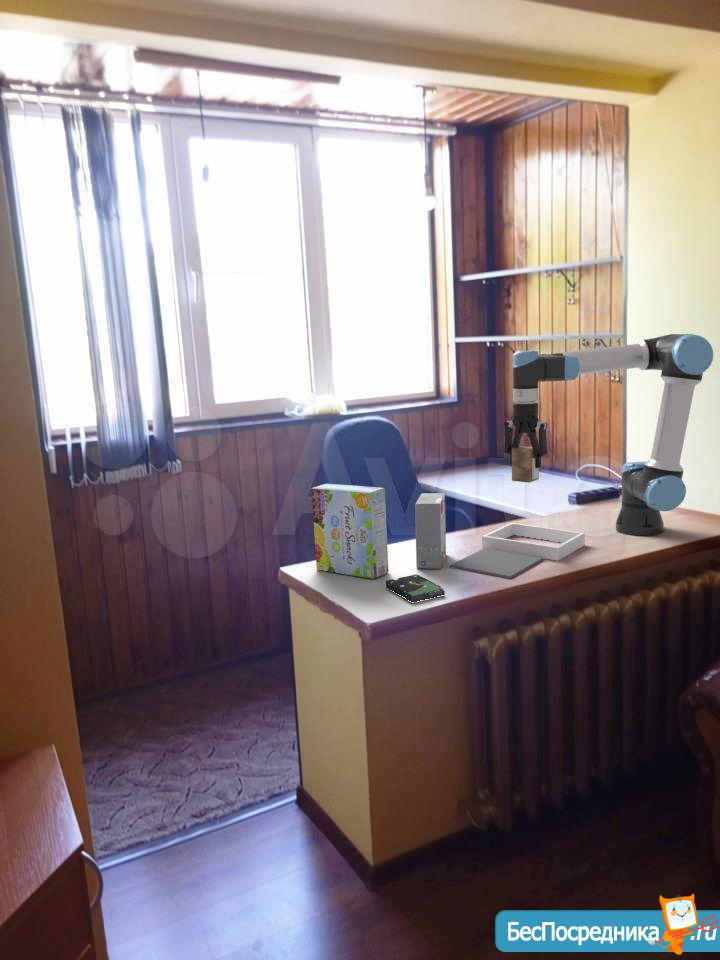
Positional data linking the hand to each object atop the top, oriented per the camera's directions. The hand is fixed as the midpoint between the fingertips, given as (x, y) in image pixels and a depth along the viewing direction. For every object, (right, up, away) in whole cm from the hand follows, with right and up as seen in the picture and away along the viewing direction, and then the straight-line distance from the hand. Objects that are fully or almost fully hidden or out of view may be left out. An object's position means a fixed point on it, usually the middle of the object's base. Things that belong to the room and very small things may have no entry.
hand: (525, 476), depth 235 cm
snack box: (-53, -28, -8) cm, 61 cm away
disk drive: (-36, -32, -28) cm, 56 cm away
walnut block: (0, -1, 0) cm, 1 cm away
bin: (+4, -22, +7) cm, 24 cm away
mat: (-10, -26, -8) cm, 29 cm away
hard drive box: (-29, -26, -2) cm, 39 cm away
